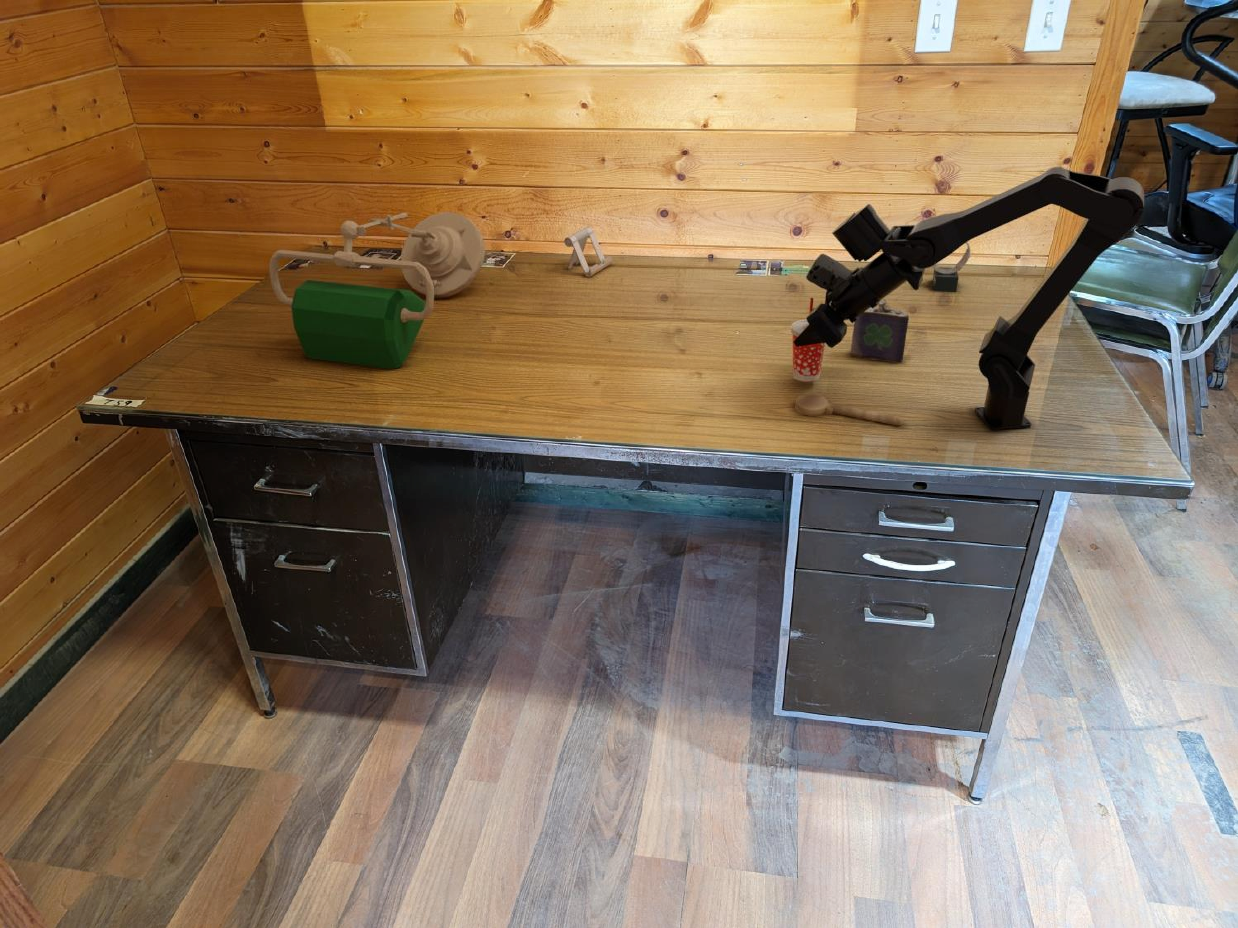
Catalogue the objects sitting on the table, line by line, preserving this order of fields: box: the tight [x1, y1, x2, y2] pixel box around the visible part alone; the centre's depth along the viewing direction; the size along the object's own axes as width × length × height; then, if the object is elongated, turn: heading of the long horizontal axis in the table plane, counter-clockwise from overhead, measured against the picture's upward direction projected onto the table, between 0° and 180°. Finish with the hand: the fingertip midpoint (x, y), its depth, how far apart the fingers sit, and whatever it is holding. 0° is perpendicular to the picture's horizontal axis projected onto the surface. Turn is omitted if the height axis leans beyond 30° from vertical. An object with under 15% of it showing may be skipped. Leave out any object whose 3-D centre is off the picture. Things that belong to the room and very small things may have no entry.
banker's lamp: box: [269, 211, 486, 370], centre depth 178 cm, size 35×42×39 cm
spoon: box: [794, 393, 904, 426], centre depth 144 cm, size 17×5×1 cm, turn 64°
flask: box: [850, 299, 910, 364], centre depth 158 cm, size 9×3×11 cm, turn 65°
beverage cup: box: [790, 297, 826, 383], centre depth 149 cm, size 6×6×14 cm
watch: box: [931, 241, 971, 293], centre depth 185 cm, size 6×8×11 cm
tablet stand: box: [563, 225, 613, 278], centre depth 201 cm, size 9×8×8 cm
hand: (800, 336), depth 150 cm, fingers closed on beverage cup, 6 cm apart
